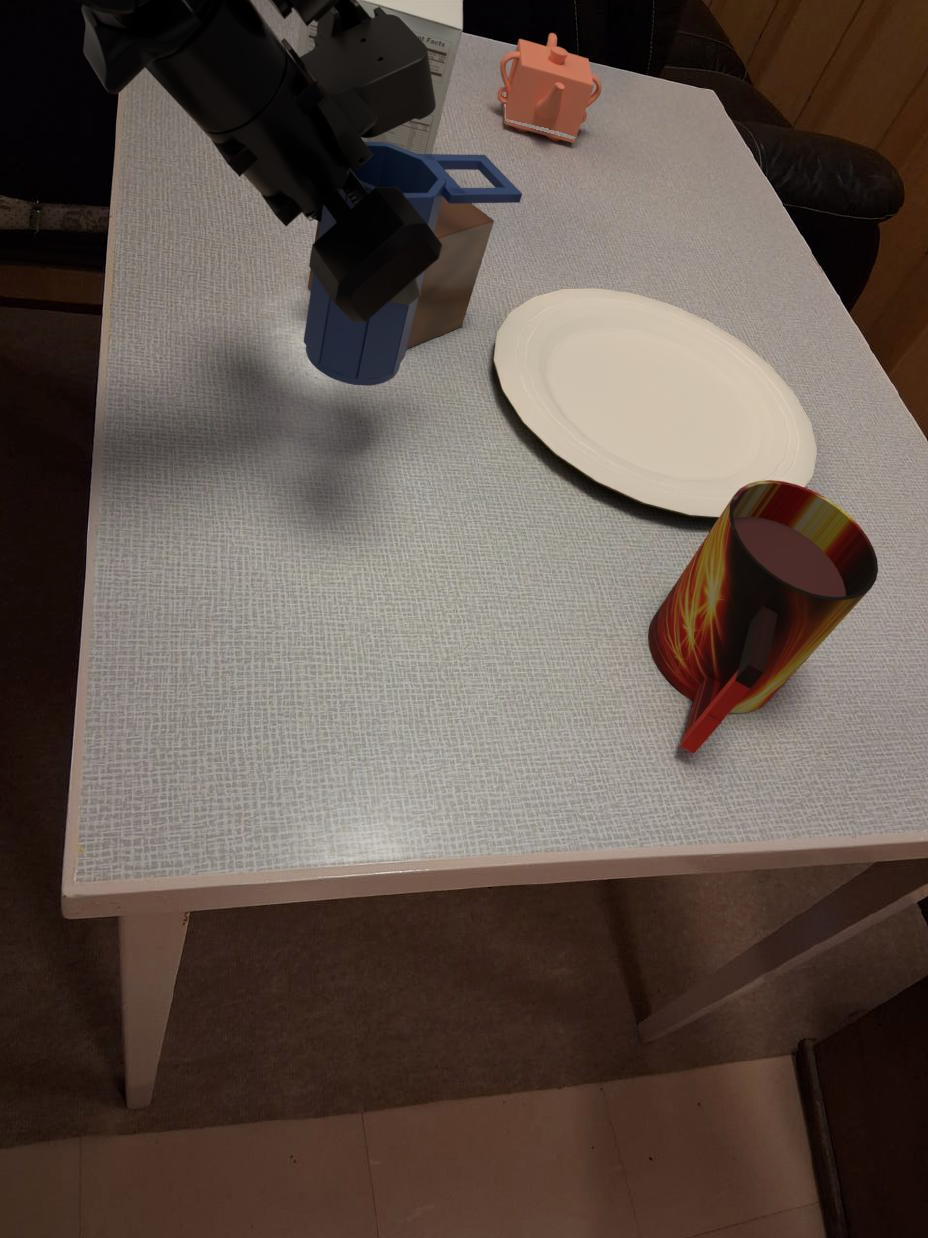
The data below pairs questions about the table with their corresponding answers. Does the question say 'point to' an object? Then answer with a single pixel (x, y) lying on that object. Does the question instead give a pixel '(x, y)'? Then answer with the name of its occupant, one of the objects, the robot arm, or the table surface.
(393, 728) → the table surface
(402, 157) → the measuring cup
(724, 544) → the mug
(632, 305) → the plate
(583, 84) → the teapot
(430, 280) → the hook box
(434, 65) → the supplement box
